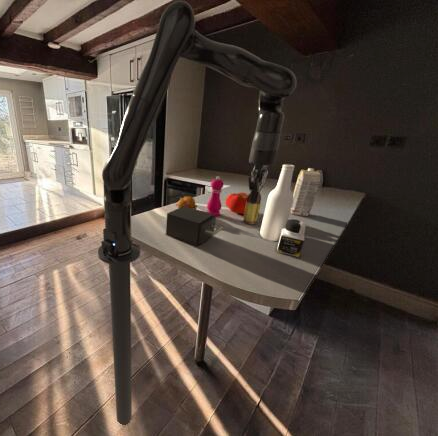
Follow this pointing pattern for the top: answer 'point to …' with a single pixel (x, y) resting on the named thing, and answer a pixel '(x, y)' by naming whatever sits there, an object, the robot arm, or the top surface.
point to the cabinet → (186, 224)
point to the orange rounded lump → (187, 202)
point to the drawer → (207, 230)
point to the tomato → (237, 202)
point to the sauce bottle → (252, 210)
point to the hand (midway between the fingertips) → (253, 202)
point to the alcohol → (278, 206)
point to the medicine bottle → (292, 238)
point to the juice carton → (305, 192)
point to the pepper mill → (215, 197)
